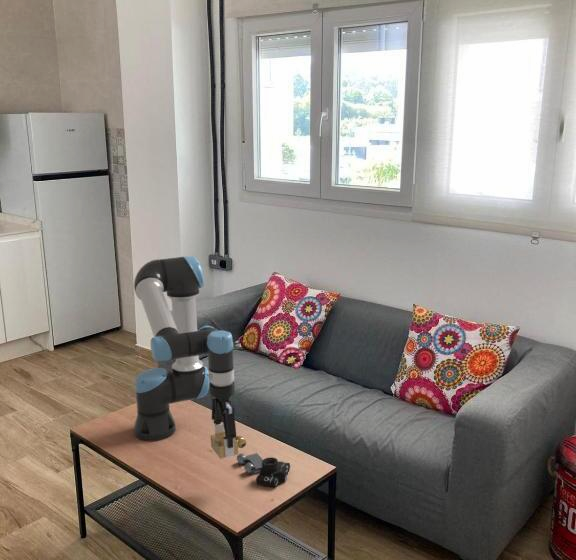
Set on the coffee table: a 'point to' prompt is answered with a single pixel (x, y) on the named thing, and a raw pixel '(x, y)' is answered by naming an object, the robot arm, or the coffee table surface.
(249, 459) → the steel hinge leaf
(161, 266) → the robot arm
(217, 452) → the gold knuckled block
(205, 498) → the coffee table surface
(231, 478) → the coffee table surface
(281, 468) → the film camera
